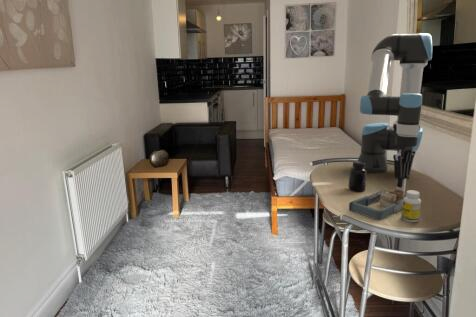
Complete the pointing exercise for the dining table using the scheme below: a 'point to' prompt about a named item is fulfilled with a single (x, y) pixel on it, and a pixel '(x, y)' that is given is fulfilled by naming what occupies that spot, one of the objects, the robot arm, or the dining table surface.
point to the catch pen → (370, 209)
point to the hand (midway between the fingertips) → (400, 194)
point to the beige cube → (387, 199)
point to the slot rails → (376, 197)
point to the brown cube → (397, 194)
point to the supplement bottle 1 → (357, 177)
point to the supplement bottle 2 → (411, 206)
